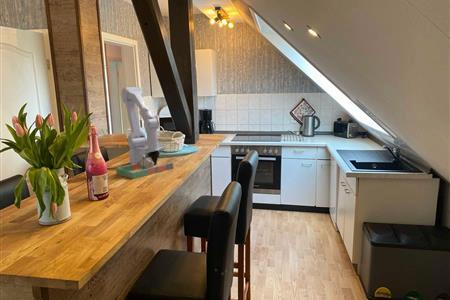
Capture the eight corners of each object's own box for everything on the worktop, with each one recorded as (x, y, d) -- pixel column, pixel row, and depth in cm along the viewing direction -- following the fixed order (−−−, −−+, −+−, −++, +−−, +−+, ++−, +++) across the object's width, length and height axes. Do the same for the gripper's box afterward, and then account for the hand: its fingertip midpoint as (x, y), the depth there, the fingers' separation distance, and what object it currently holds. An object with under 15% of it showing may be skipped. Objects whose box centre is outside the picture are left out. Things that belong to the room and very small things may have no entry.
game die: (144, 177, 177) (136, 162, 180) (159, 170, 179) (150, 154, 182) (141, 173, 169) (133, 156, 172) (157, 165, 171) (148, 149, 173)
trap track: (116, 173, 173) (115, 167, 172) (155, 163, 191) (155, 158, 190) (133, 178, 162) (132, 173, 162) (173, 168, 180) (172, 162, 180)
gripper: (145, 143, 170) (147, 169, 173) (167, 139, 180) (169, 163, 183) (137, 142, 175) (139, 167, 177) (159, 138, 185) (161, 161, 188)
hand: (154, 165), depth 181 cm, fingers closed
